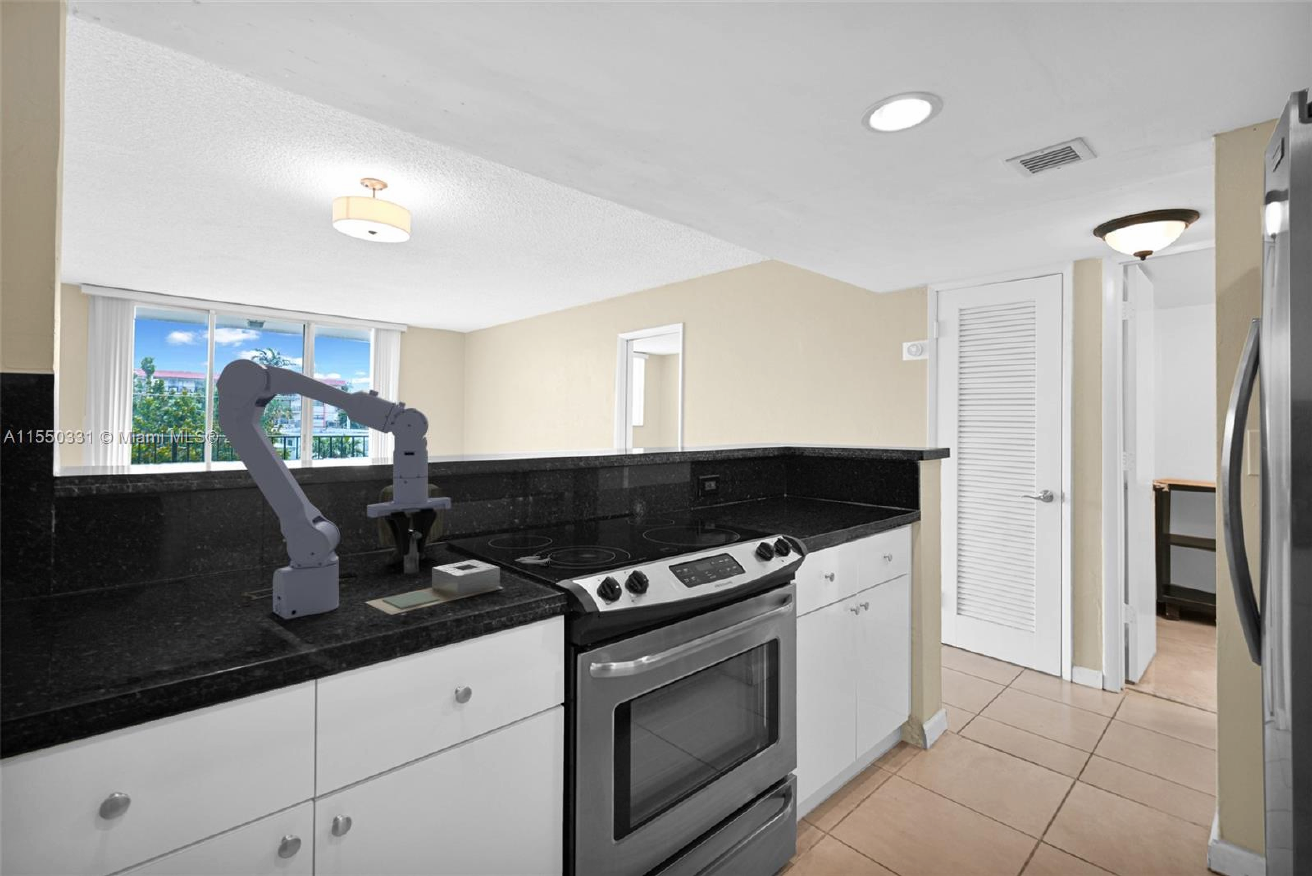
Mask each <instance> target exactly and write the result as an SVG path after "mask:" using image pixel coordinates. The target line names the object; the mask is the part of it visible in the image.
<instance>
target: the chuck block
mask: <svg viewBox="0 0 1312 876" xmlns="http://www.w3.org/2000/svg"><path fill="white" fill-rule="evenodd" d="M500 587H501V567H500V566H496V565H493V564H490V563H487V562H484V561H480V560H478V559H477V560H476V559H470V560H465V561H459V562H455V563H448V564H443V565H438V566H433V567H431V588H432V589H435V590H438V591H440V592H443V593H446V594H448V595H451V596H454V597H457V598H459V597H464V596H468V595H472V594H476V593H480V592H485V591H489V590H493V589H497V588H500ZM489 592H490V591H489ZM485 593H486V592H485ZM468 597H469V596H468ZM464 598H465V597H464Z"/></svg>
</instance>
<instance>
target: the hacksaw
mask: <svg viewBox="0 0 1312 876" xmlns="http://www.w3.org/2000/svg"><path fill="white" fill-rule="evenodd" d="M358 574H359V571H358V572H357V571H356V570H355V569H350V570H347V571H343V572H339V584H341V583H343V584H344V583H346V581H347V583H350V582H354V581H355V578H354V577H356V576H357V575H358ZM353 576H354V577H353ZM352 577H353V578H352ZM348 580H349V581H348ZM269 588H270V589H269ZM269 588H264V589H263V588H262V589H258V590H254V591H252V590H251V591H249V592H247V591H246V592H242V593H243V594H241V595H240V596H242V597H248V598H251V599H249V600H245V601H244V603H245V602H252V601H257V600H259V601H260V600H264V599H270V597H271V598H273V593H271V594H266V595H261V596H257V595H253V594H256V593H262V592H266V591H267V592H268V591H273V590H272V589H273V587H269ZM238 604H241V602H236V603H234V604H232V607H233V606H234V607H233V608H248V607H251V605H250V604H247V605H238Z"/></svg>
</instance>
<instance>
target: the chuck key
mask: <svg viewBox="0 0 1312 876" xmlns="http://www.w3.org/2000/svg"><path fill="white" fill-rule="evenodd" d="M421 536H422V534H421V533H420V532H417V531H414V530H410V529H409V532H408V555H404V556H403V573H405V574H414V573H418V572H419V559H418V555H419V552H418V539H419V538H421Z"/></svg>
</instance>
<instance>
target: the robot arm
mask: <svg viewBox="0 0 1312 876" xmlns="http://www.w3.org/2000/svg"><path fill="white" fill-rule="evenodd" d="M215 386H216V390H217V393H218V412H217V413H218V417H217V418H218V421H217V423H218V426H219V429H220V430H221V431H222V433H223V435H224V436H225V438H226V440H228V443H229V444H230V445H231V446H232V448H233V450H234V452H235V453H236V454H237V456H238V457H239V459H240V460H241V462H242V464H243V465H244V467H245V468H246V470H247V471H248V472H249V475H250V476H251V477H252V479H253V481H254V482H255V483H256V485H257V486H258V488H259V489H260V491H261V492H262V495H263V496H264V497H265V499H266V500H267V502H268V504H269V505H270V507H271V508H272V509H273V511H274V512H275V514H276V516H277V517H278V518H279V522H280V523H279V524H280V531H281V534H282V535H283V537H284V539H285V541H286V551H287V554H288V555H287V556H288V557H289V558H290V561H289V565H288V566H285V567H281V568H277V569H276V570H275V571H274V573H273V575H272V576H273V578H272V588H273V590H272V594H273V597H272V612H274V613H275V614H276V615H278V616H279V617H281V618H283V619H284V620H289V619H294V618H298V617H304V616H308V615H315V614H321V613H327V612H331V611H333V610H336V609H337V608H338V607H339V605H340V595H339V594H340V588H339V587H340V583H339V579H340V578H339V573H340V572H339V571H340V567H339V563H340V561H339V560H340V559H339V556H338V555H337V554H336V552H335V549H336V548H337V546H338V544H339V543H340V539H341V534H340V530H339V528H338V526H337V525H336V524H335V523H334V522H332V521H330V520H328V519H327V518H325V517H324V515H323V514H322V512H321V510H319V509H318V508H317V507H316V506H314V505H313V504H312V502H310V500H309V499H308V497H307V496H306V494H305V493H304V491H303V489H302V488H301V487H300V484H299V483H298V481H297V479H295V477H294V475H293V474H292V473H291V471H290V469H289V468H288V466H287V465H286V463H285V462H284V460H283V458H282V457H281V455H280V454H279V452H278V451H277V448H276V447H275V446H274V444H273V443H272V441H271V440H270V438H269V436H268V435H267V433H266V432H265V430H264V428H263V427H262V425H261V424H260V421H261V419H262V417H263V414H264V412H265V411H266V408H267V406H268V405H269V404H270V403H271V402H272V401H273V400H274V399H275V397H277V395H280V396H287V395H299V396H302V397H304V398H308V399H311V400H314V401H317V402H320V403H322V404H325V405H329V406H332V407H334V408H337V409H340V410H343V411H344V412H345V414H346V417H347V419H348V420H349V421H351V422H353V423H356V424H359V425H361V426H364V427H367V428H369V429H372V430H375V431H378V432H381V433H384V434H388V433H391V434H392V435H393V439H394V440H393V441H394V444H393V445H394V447H393V448H394V449H393V451H392V466H393V467H392V469H393V470H392V473H393V475H392V477H393V478H392V483H393V484H392V485H393V501H392V502H386V503H380V504H379V503H373V504H368V505H366V516H367V517H369V518H372V519H373V518H378V516H384V518H385V521H386V522H387V524H388V526H389V527H390V529H391V531H392V534H393V536H394V539H395V542H396V545H397V549H398V552H397V554H398V555H401V556H403V557H404V555H408V532H409V526H410V521H411V518H410V517H406V515H405V513H410V512H411V517H412V522H413V529H414V531H417V532H420V533H421V534H422V536H421V538H419V539H418V554H419V553H424V552H425V546H426V545H425V543H426V540H427V536H428V534H429V531H430V529H431V527H432V525H433V523H434V521H435V519H436V518H437V512H433V510H436V509H443V510H450V509H452V499H451V497H445V496H443V498H428V484H429V456H428V455H429V452H428V449H427V447H428V440H427V436H426V434H427V433H428V431H429V420H428V418H427V417H426V414H424V413H423V412H422V411H420V410H418V409H417V408H413V407H408V408H406V406H407V405H406V404H407V403H405V402H403V401H402V400H401V401H399V402H396V401H393V400H391V399H388V398H385V397H383V396H381V395H379V394H380V393H379V391H377V390H374V389H369V391H368V390H365V389H361V390H358V391H355V392H353V393H351V392H348V391H346V390H343V389H341V388H339V387H336V386H334V385H331V384H329V383H327V382H324V381H322V380H319V379H317V378H314V377H311V376H309V375H306V374H304V373H302V372H300V371H296V370H293V369H287V368H283V367H278V366H274V365H271V364H267V363H261V362H256V361H254V360H252V359H247V358H240V359H235V360H233V361H231V362H229V363H228V364H226V365H225V366H224V368H223V370H222V371H221V373H220V375H219V377H218V379H217V381H216V383H215ZM409 508H417V509H409ZM403 509H408V510H403ZM395 510H396V511H395ZM293 612H295V613H293Z"/></svg>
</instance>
